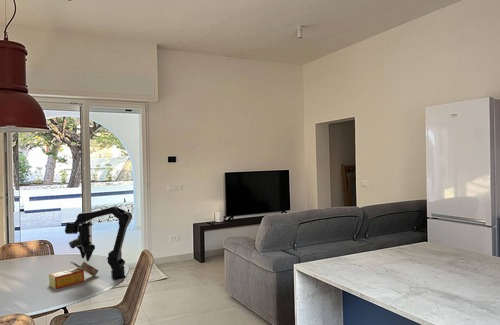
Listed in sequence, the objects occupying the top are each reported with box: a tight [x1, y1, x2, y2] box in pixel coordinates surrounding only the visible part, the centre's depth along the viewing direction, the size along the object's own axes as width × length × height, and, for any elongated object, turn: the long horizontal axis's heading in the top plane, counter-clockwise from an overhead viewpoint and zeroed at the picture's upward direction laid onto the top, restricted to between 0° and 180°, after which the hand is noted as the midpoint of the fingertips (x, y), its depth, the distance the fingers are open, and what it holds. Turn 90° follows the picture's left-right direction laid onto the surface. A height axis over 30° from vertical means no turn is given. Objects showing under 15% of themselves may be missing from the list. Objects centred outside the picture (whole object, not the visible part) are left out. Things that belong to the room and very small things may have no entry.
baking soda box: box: [48, 267, 85, 290], centre depth 213 cm, size 10×6×16 cm
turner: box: [69, 261, 100, 277], centre depth 221 cm, size 16×6×4 cm
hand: (85, 259), depth 221 cm, fingers open, 9 cm apart
